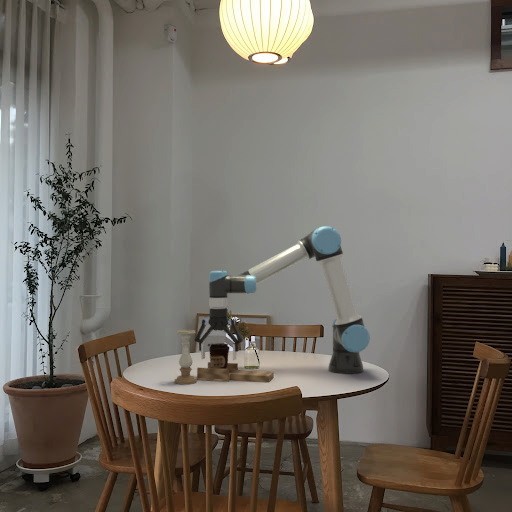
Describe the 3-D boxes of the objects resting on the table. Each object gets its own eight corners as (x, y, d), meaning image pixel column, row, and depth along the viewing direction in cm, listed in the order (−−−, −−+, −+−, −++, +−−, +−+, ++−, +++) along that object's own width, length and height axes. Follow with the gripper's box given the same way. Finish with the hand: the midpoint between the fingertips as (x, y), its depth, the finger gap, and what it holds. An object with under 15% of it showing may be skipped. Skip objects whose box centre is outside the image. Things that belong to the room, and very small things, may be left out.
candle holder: (176, 384, 223) (176, 332, 224) (172, 380, 232) (173, 329, 232) (198, 383, 226) (198, 331, 226) (194, 379, 234) (194, 329, 234)
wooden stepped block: (274, 376, 241) (274, 365, 242) (267, 383, 227) (267, 371, 227) (208, 373, 248) (208, 362, 248) (197, 379, 233) (197, 367, 233)
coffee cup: (226, 377, 234) (226, 345, 234) (206, 376, 236) (206, 344, 236) (231, 373, 243) (231, 342, 243) (212, 373, 244) (212, 342, 244)
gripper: (249, 307, 241) (250, 358, 240) (192, 307, 246) (193, 356, 246) (245, 308, 233) (245, 361, 233) (186, 308, 239) (187, 359, 238)
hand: (218, 359), depth 239 cm, fingers open, 13 cm apart
